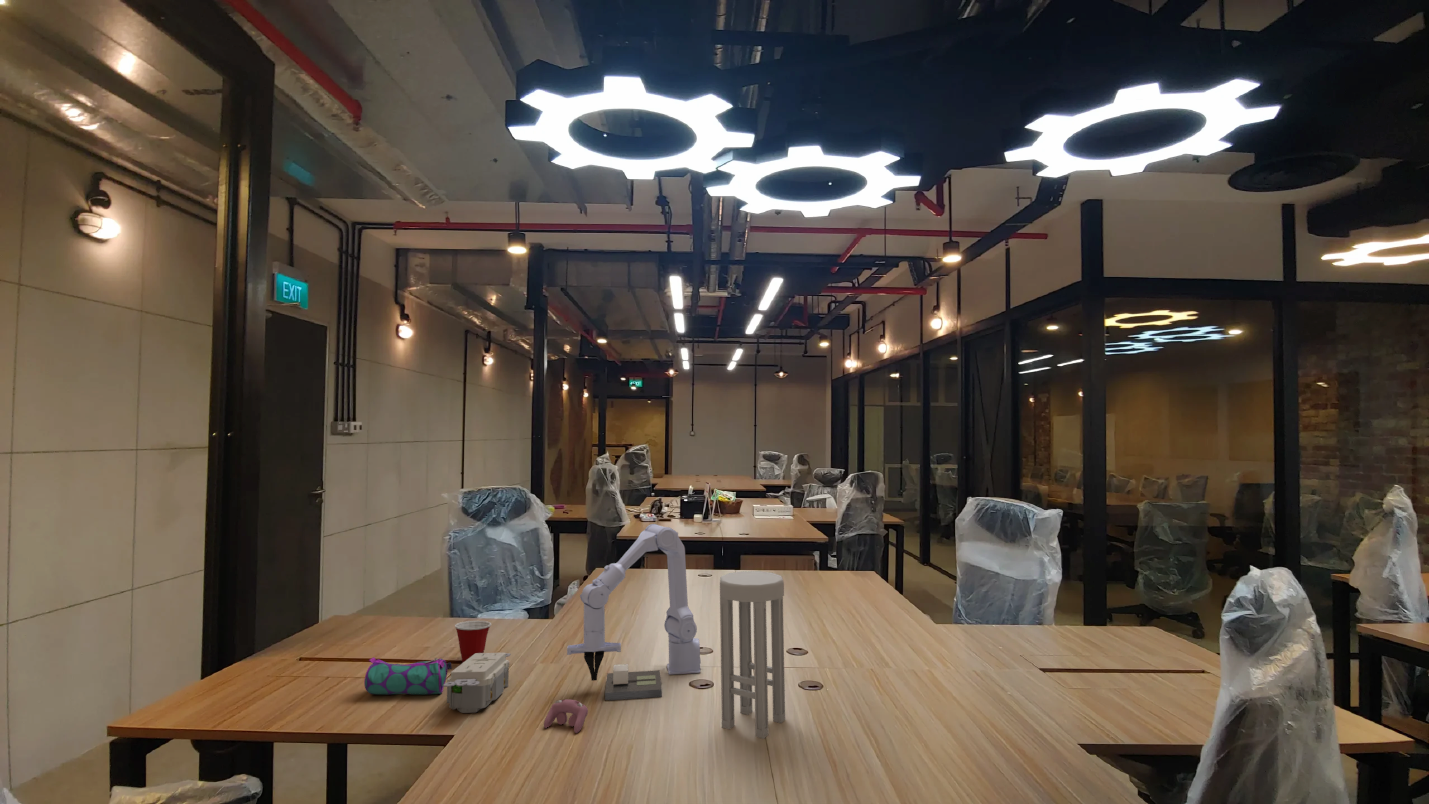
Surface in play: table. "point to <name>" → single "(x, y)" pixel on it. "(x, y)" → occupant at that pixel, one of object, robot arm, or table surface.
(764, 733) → the stool
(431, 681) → the pencil case
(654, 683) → the breaker panel
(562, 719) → the video game controller
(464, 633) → the plastic cup
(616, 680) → the lever
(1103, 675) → the table surface
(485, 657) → the electrical outlet
